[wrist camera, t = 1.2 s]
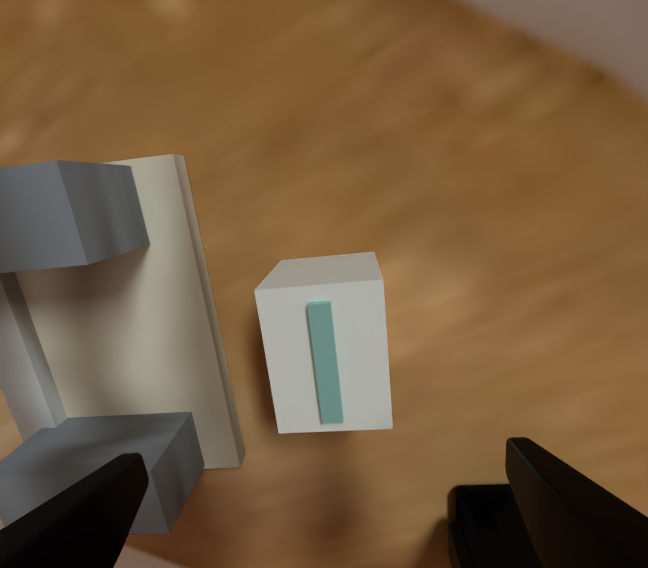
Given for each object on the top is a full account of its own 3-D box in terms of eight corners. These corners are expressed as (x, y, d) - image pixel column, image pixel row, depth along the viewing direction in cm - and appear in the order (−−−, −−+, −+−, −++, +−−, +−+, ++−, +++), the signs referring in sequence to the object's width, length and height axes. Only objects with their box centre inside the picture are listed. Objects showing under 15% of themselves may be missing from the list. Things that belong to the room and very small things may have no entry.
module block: (373, 251, 17) (383, 281, 12) (381, 363, 18) (393, 433, 13) (281, 260, 17) (251, 293, 12) (297, 369, 19) (277, 438, 14)
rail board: (183, 155, 16) (111, 144, 11) (245, 454, 20) (212, 537, 16) (-50, 185, 17) (-206, 186, 12) (57, 461, 22) (-27, 540, 17)
